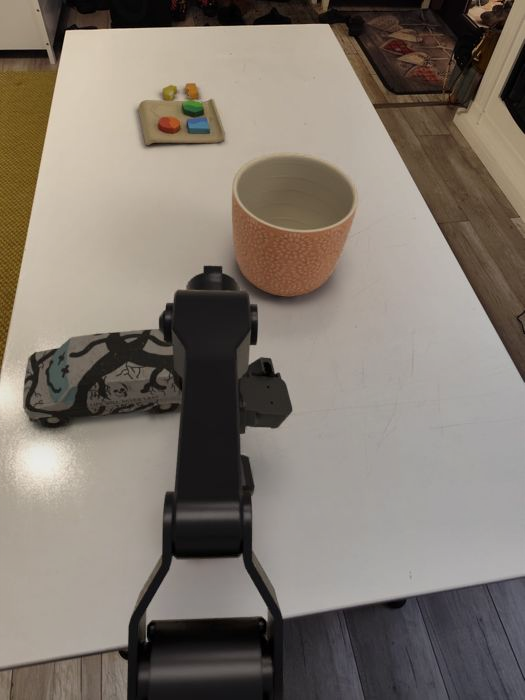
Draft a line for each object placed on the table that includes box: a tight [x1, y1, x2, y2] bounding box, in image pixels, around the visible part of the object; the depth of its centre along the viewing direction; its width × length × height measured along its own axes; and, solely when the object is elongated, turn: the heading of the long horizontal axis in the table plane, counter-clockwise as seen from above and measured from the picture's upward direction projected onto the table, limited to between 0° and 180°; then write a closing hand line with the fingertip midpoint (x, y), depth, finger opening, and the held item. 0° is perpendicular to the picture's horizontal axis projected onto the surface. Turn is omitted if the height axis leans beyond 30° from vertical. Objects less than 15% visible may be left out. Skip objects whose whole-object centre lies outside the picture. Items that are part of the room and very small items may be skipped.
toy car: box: [22, 328, 182, 429], centre depth 78 cm, size 11×25×10 cm, turn 100°
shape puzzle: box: [138, 82, 226, 146], centre depth 128 cm, size 25×19×3 cm
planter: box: [231, 152, 359, 297], centre depth 93 cm, size 21×21×19 cm
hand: (212, 451), depth 64 cm, fingers open, 9 cm apart
